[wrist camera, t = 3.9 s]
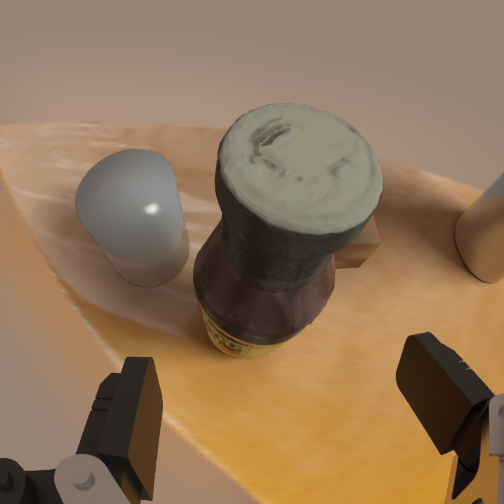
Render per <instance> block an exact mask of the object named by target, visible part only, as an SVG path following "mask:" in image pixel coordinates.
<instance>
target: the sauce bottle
mask: <svg viewBox="0 0 504 504" xmlns="http://www.w3.org/2000/svg"><path fill="white" fill-rule="evenodd" d="M215 191H216V196H217V200H218V203H219V206H220V209H221V211H222V219H221V221H220V222H219V224H218V225H217V227H216V228H215V229H214V231H213V232H212V234H211V235H210V237H209V238H208V239H207V241H206V242H205V244H204V245H203V246H202V248H201V249H200V251H199V252H198V254H197V257H196V259H195V263H194V269H193V282H194V289H195V293H196V297H197V300H198V303H199V308H200V311H201V314H202V317H203V320H204V324H205V326H206V330H207V333H208V335H209V337H210V339H211V341H212V342H213V343H214V344H215V346H216V347H217V348H218V349H219V350H221V351H222V352H224V353H225V354H227V355H229V356H231V357H234V358H238V359H245V360H248V359H256V358H259V357H262V356H265V355H267V354H269V353H270V352H272V351H274V350H275V349H276V348H278V347H279V346H281V345H282V344H284V343H285V342H287V341H289V340H290V339H292V338H293V337H294V336H296V335H297V334H299V333H300V332H301V331H302V330H303V329H304V328H305V327H306V326H307V325H308V324H311V323H312V321H314V319H315V318H316V317H317V316H318V315H319V314H320V312H321V311H322V310H323V308H324V307H325V305H326V304H327V301H328V299H329V297H330V296H331V293H332V291H333V289H334V287H335V285H334V282H335V261H334V255H333V253H334V252H336V251H338V250H340V249H342V248H344V247H345V246H347V245H348V244H349V243H350V242H351V241H352V240H354V239H355V237H356V236H357V235H358V234H359V233H360V232H361V231H362V229H363V228H364V227H365V225H366V224H367V223H368V221H369V219H370V218H371V216H372V215H373V214H374V212H375V210H376V208H377V206H378V204H379V202H380V199H381V197H382V194H383V174H382V170H381V166H380V162H379V159H378V157H377V155H376V153H375V151H374V150H373V149H372V148H371V146H370V145H369V144H368V143H367V141H366V140H365V139H364V137H363V136H362V135H361V134H360V132H359V131H358V130H357V129H356V128H355V127H353V126H352V125H351V124H349V123H348V122H346V121H345V120H343V119H342V118H340V117H338V116H336V115H335V114H332V113H330V112H326V111H322V110H320V109H318V108H315V107H312V106H309V105H304V104H297V103H280V104H269V105H265V106H262V107H259V108H256V109H254V110H251V111H250V112H248V113H246V114H243V115H242V116H241V117H240V118H238V119H237V120H236V122H235V123H234V124H233V125H232V126H231V127H230V128H229V130H228V131H227V133H226V134H225V136H224V137H223V139H222V140H221V142H220V145H219V149H218V159H217V164H216V173H215Z"/></svg>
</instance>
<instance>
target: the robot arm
mask: <svg viewBox="0 0 504 504" xmlns="http://www.w3.org/2000/svg"><path fill="white" fill-rule="evenodd" d="M455 240H456V244H457V248H458V250H459V253H460V255H461V257H462V259H463V261H464V263H465V264H466V266H467V267H468V268H469V270H470V271H471V272H472V273H473V274H474V275H475V276H476V277H478V278H479V279H480V280H482V281H485V282H488V283H495V282H498V281H499V280H501V279H503V278H504V172H503V173H502V174H501V175H500V177H498V178H497V180H496V181H495V182H494V183H493V184H492V185H491V186H490V187H489V188H488V189H487V190H486V191H485V192H484V193H483V194H482V195H481V196H480V197H479V198H478V199H477V200H476V201H475V202H474V203H473V204H472V205H471V206H470V207H469V208H468V209H467V210H466V211H465V212H464V213H463V214H462V215H461V216H460V217H459V218H458V220H457V222H456V225H455ZM396 382H397V386H398V388H399V389H400V391H401V393H402V394H403V396H404V397H405V399H406V400H407V402H408V403H409V405H410V406H411V408H412V410H413V411H414V413H415V414H416V416H417V417H418V419H419V421H420V422H421V424H422V425H423V427H424V428H425V430H426V432H427V433H428V435H429V436H430V438H431V440H432V441H433V443H434V445H435V446H436V448H437V449H438V451H439V453H440V454H441V455H443V454H446V453H448V452H450V451H452V450H454V451H455V452H456V455H455V456H454V458H453V461H452V466H451V472H450V478H449V483H448V488H447V493H446V498H445V502H444V504H504V394H499V395H496V396H495V395H494V394H493V392H492V391H491V390H490V389H489V388H488V387H487V386H486V384H485V383H484V382H483V381H482V380H481V379H480V378H479V377H478V376H477V375H476V373H475V372H474V371H473V370H472V369H470V367H469V366H468V365H467V364H466V363H465V362H463V359H462V358H461V357H460V356H459V355H458V354H457V353H456V352H455V351H454V350H452V349H451V348H449V347H447V346H446V345H444V344H441V343H440V341H439V340H438V339H437V338H436V337H435V336H434V335H433V334H432V333H430V332H425V333H420V334H415V335H410V336H408V338H407V339H406V341H405V345H404V348H403V351H402V355H401V358H400V361H399V364H398V367H397V371H396ZM162 413H163V401H162V394H161V389H160V385H159V381H158V377H157V373H156V369H155V364H154V361H153V358H152V357H127V358H126V359H125V362H124V365H123V368H122V371H121V373H111V374H110V375H109V376H108V377H107V378H106V379H105V380H104V381H103V382H102V383H101V384H100V386H99V389H98V392H97V394H96V400H94V402H93V405H92V411H90V414H89V417H88V419H87V422H86V425H85V428H84V431H83V434H82V437H81V440H80V443H79V446H78V449H77V452H76V454H75V455H73V456H70V457H68V458H66V459H64V460H63V461H62V462H61V463H60V464H59V465H58V467H57V468H56V469H52V470H38V471H24V470H23V468H22V467H21V466H20V465H19V464H18V463H17V462H16V461H14V460H11V459H8V458H0V504H140V501H141V500H150V501H152V499H153V489H154V479H155V469H156V461H157V452H158V442H159V435H160V427H161V420H162Z"/></svg>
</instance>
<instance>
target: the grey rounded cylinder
mask: <svg viewBox="0 0 504 504" xmlns="http://www.w3.org/2000/svg"><path fill="white" fill-rule="evenodd" d="M75 207H76V212H77V215H78V218H79V220H80V221H81V223H82V224H83V225H84V227H85V228H86V230H87V231H88V232H89V234H90V235H91V236H92V238H93V239H94V241H95V242H96V243H97V245H98V246H99V247H100V249H101V250H102V251H103V252H104V254H105V255H106V256H107V258H108V259H109V260H110V262H111V263H112V264H113V265H114V267H115V268H116V269H117V270H118V272H119V273H120V274H121V276H122V277H123V278H124V279H126V280H127V281H128V282H130V283H132V284H134V285H137V286H142V287H154V286H159V285H162V284H164V283H166V282H168V281H170V280H172V279H173V278H174V277H175V276H177V275H178V274H179V273H180V271H181V270H182V269H183V267H184V266H185V264H186V262H187V259H188V256H189V249H190V247H189V239H188V235H187V230H186V226H185V221H184V216H183V212H182V207H181V202H180V197H179V192H178V187H177V182H176V177H175V173H174V170H173V168H172V166H171V165H170V163H169V162H168V161H167V160H166V159H165V158H164V157H162V156H161V155H159V154H157V153H155V152H152V151H148V150H142V149H131V150H125V151H121V152H117V153H114V154H112V155H110V156H108V157H106V158H104V159H103V160H101V161H100V162H98V163H97V164H96V165H94V166H93V167H92V168H91V169H90V170H89V171H88V172H87V174H86V175H85V176H84V178H83V179H82V181H81V183H80V185H79V187H78V190H77V193H76V198H75Z"/></svg>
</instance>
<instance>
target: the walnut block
mask: <svg viewBox="0 0 504 504" xmlns="http://www.w3.org/2000/svg"><path fill="white" fill-rule="evenodd" d="M380 244H381V241H380V237H379V233H378V229H377V226H376V222H375V219H374V215H372V216H371V218H370V219H369V221H368V223H367V224H366V225H365V227H364V228H363V229H362V231H361V232H360V233H359V234H358V235H357V236H356V237H355V239H354V240H352V241H351V242H350V243H349V244H348V245H347V246H345V247H344V248H342V249H340V250H338V251H336V252H334V253H333V255H334V261H335V269H338V268H357V267H360V266H361V265H362V263H363V262H364V261H365V260H366V259H367V258H368V257H369V256H370V255H371V254H372V252H373V251H374V250H375V249H376V248H377V247H378V246H379V245H380Z"/></svg>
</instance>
